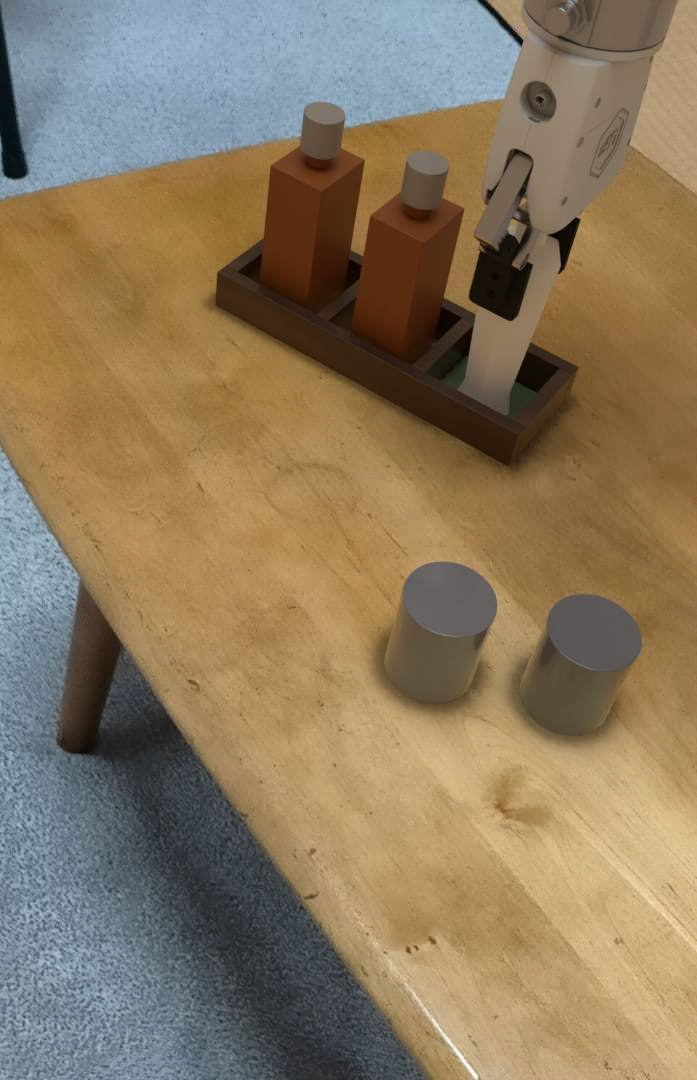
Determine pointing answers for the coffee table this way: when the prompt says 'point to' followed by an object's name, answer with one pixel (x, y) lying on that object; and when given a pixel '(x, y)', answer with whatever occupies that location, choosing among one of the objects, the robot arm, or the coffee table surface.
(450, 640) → the grey upright cylinder
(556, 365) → the rack
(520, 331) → the perfume bottle
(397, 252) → the amber bottle
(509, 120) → the robot arm
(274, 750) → the coffee table surface
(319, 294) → the amber bottle
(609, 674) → the grey jar
